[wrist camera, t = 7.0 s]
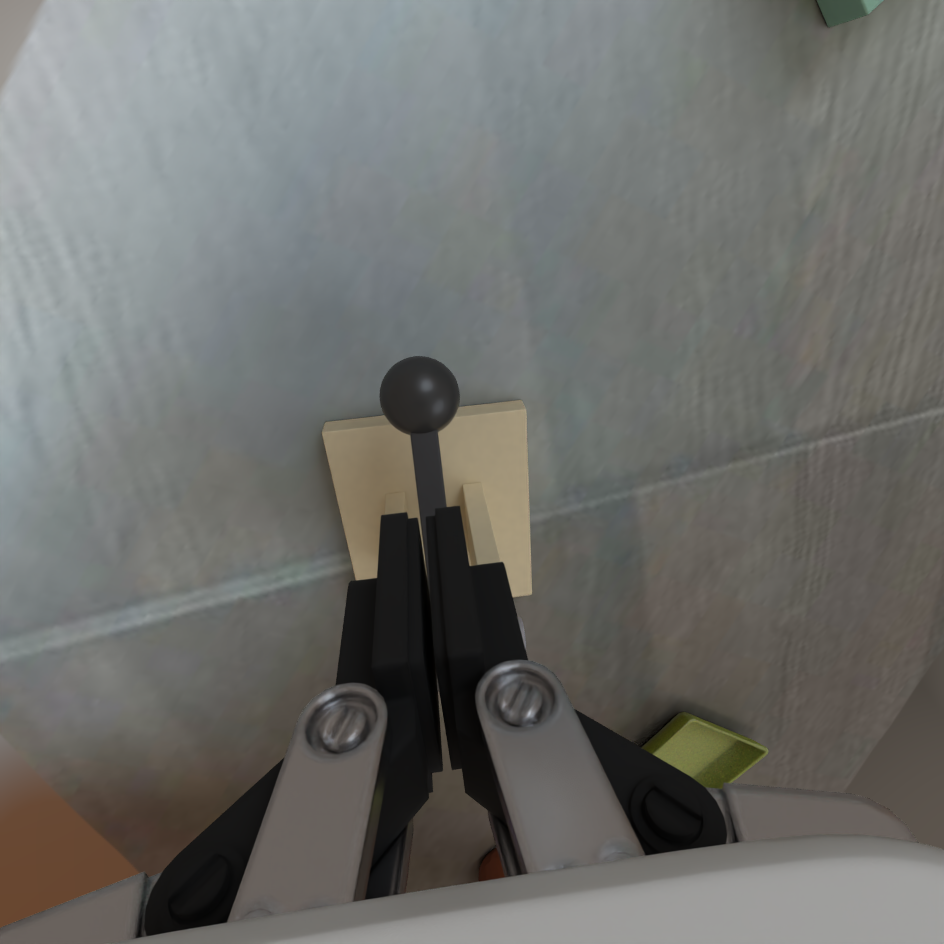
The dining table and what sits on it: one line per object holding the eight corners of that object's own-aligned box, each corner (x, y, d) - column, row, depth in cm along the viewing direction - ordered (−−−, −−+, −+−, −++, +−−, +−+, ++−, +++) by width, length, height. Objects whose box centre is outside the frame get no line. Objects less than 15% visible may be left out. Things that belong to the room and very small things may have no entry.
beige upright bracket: (324, 421, 28) (277, 571, 17) (521, 399, 28) (588, 532, 18) (365, 602, 34) (348, 794, 23) (528, 580, 34) (580, 759, 24)
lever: (379, 369, 24) (370, 352, 21) (453, 361, 24) (455, 343, 21) (415, 670, 24) (411, 700, 21) (489, 659, 24) (496, 688, 21)
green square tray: (680, 694, 41) (693, 719, 39) (757, 727, 44) (772, 751, 42) (606, 762, 44) (615, 787, 42) (682, 788, 47) (693, 813, 45)
